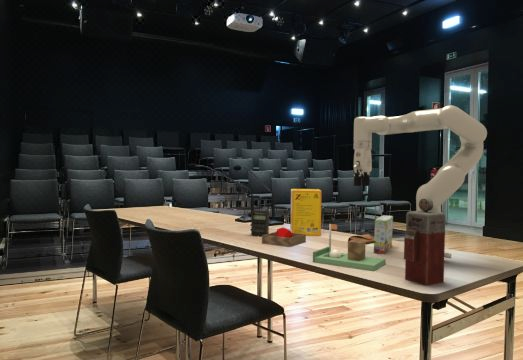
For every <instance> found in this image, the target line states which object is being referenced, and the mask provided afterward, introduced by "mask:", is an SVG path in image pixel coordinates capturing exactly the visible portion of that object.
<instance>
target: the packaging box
mask: <svg viewBox="0 0 523 360" xmlns="http://www.w3.org/2000/svg"><path fill="white" fill-rule="evenodd" d="M289 231H291V233H299V234H306V237H322V190H321V189H319V188H316V189H315V188H291V189H290V229H289Z"/></svg>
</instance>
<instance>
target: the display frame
mask: <svg viewBox="0 0 523 360" xmlns="http://www.w3.org/2000/svg"><path fill="white" fill-rule="evenodd" d="M292 234H293V235H292V237H291V238H285V237H277V236H276V231H275V232H269V234H265V235H262V237H261V244H266V245H272V246H273V245H274V246H279V247H280V246H281V247H288V248H291V247H294V246H298V245H301V244H304V243H306V242H307V236H306V234H299V233H292Z"/></svg>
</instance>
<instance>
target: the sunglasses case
mask: <svg viewBox="0 0 523 360" xmlns="http://www.w3.org/2000/svg"><path fill="white" fill-rule="evenodd" d="M351 240H362V241H366V243H365V246H366V245H370V244H374V236H373V235H371V234H370V233H367V234H365V233H364V234H359V235H351V236H350V237H348V239H347V242H348V241H351Z"/></svg>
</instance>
